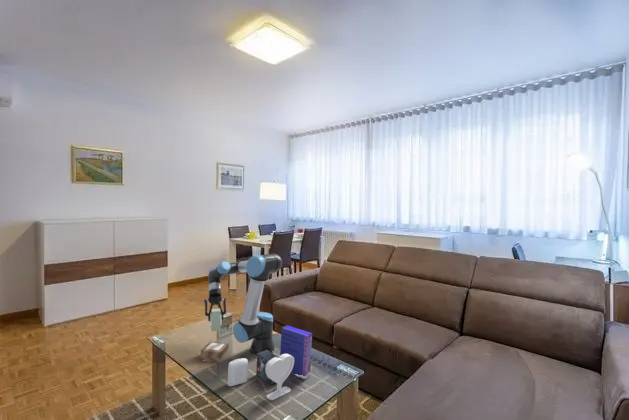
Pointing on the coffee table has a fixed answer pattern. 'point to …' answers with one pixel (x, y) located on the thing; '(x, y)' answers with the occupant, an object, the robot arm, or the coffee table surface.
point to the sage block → (215, 319)
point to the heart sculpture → (279, 373)
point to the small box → (264, 365)
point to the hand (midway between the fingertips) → (216, 325)
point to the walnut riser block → (214, 351)
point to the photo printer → (237, 371)
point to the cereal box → (297, 348)
